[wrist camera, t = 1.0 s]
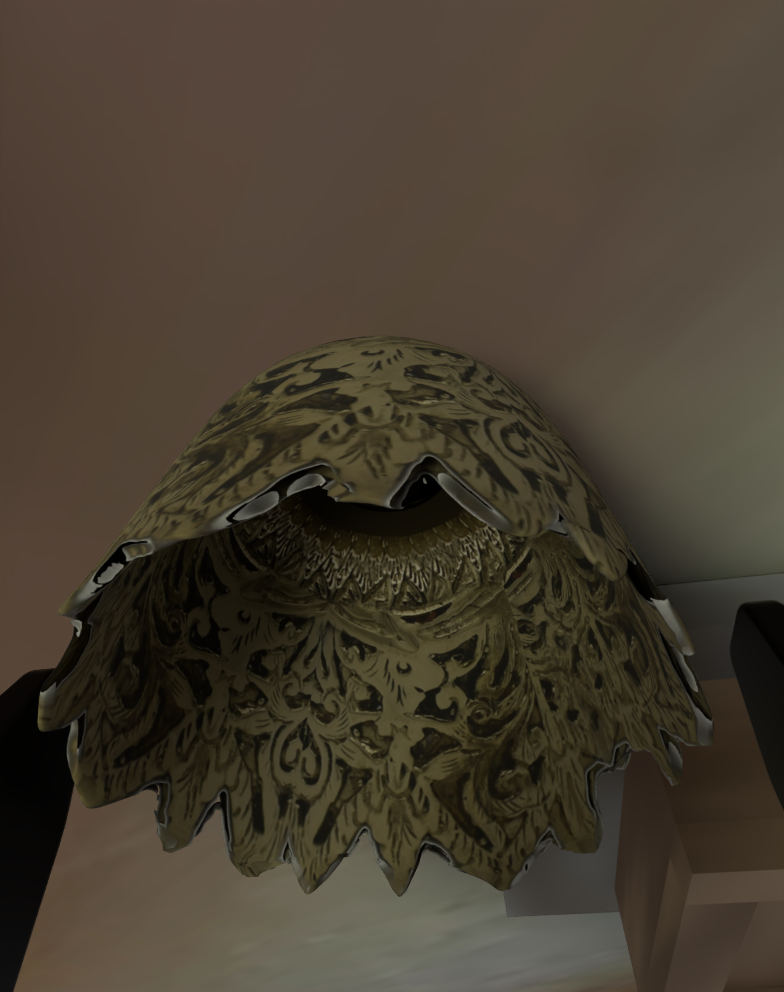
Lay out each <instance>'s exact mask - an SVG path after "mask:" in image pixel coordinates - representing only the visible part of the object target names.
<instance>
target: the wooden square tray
mask: <svg viewBox="0 0 784 992" xmlns="http://www.w3.org/2000/svg"><path fill="white" fill-rule="evenodd" d="M657 587H658V588H659V589H660V590H661V591H662V592H663V593H664V594H665V595H666V596H667V598H668V599H669V601H670V602H671V604H672V605H673V607H674V608H675V610H676V612H677V614H678V615H679V617H680V619H681V621H682V622H683V624H684V626H685V628H686V630H687V632H688V634H689V636H690V638H691V640H692V642H693V644H694V646H695V649H696V653H695V654H694V655H691V656H688V658H689V660H690V663H691V665H692V667H693V669H694V671H695V673H696V675H697V677H698V679H699V682H700V684H701V686H702V688H703V691H704V693H705V696H706V698H707V701H708V703H709V705H710V709H711V713H712V717H713V723H714V744H713V745H711V746H687V745H685V743H684V742H681V741H678V743H679V746H680V749H681V754H682V760H683V773H682V778H681V781H680V783H679V784H678V785H673V786H672V785H671V784H670V782H669V781H668V780H667V778H666V776H665V775H664V774H663V772H662V771H661V768H660V766H659V763H658V762H657V761H656V759H655V758H654V756H653V754H652V753H651V752H648V751H646V750H645V749H644V750H641V751H638V752H637V751H634V752H632V753H631V755H630V760H629V762H628V765H627V767H626V768H625V769H623V770H622V769H614V771H613V772H611V773H609V772H607V773H606V774H602V775H601V776H600V777H599V778H598V779H597V786H598V804H599V807H600V811H601V813H602V816H603V820H604V830H603V836H602V839H601V843H600V846H599V848H598V850H597V851H596V852H595V853H586V854H580V853H572V852H570V851H566V850H561V849H558V847H556V846H555V845H553V844H552V843H550V844H549V845H548V847H547V848H546V850H545V851H544V852H542V853H540V854H539V855H538V857H537V858H536V859H535V861H534V862H533V864H532V865H531V867H530V868H529V870H528V871H527V873H526V874H525V876H524V877H523V878H522V880H521V881H520V882H519V883H518V884H517V885H516V886H514V887H513V888H511V889H509V890H505V891H503V892H504V898H505V905H506V912H507V917H517V916H539V915H560V914H582V913H603V912H620V915H621V919H622V924H623V928H624V932H625V937H626V941H627V945H628V950H629V954H630V958H631V963H632V967H633V971H634V976H635V980H636V984H637V989H638V992H784V811H783V809H782V806H781V804H780V802H779V800H778V797H777V795H776V793H775V790H774V788H773V786H772V783H771V781H770V778H769V775H768V772H767V769H766V767H765V764H764V761H763V758H762V755H761V752H760V749H759V746H758V742H757V739H756V736H755V733H754V730H753V727H752V724H751V721H750V718H749V715H748V712H747V709H746V706H745V703H744V700H743V697H742V693H741V690H740V687H739V684H738V681H737V678H736V675H735V672H734V669H733V666H732V662H731V658H730V642H731V638H732V633H733V628H734V624H735V619H736V614H737V610H738V608H739V606H740V605H741V604H742V603H745V602H753V601H763V600H775V601H778V602H780V603H782V604H784V573H781V574H771V575H761V576H751V577H741V578H731V579H721V580H711V581H701V582H691V583H681V584H671V585H661V586H657ZM630 750H632V748H629V750H628V751H630ZM607 768H609V767H608V766H607V767H606V768H605V769H607ZM603 770H604V769H603ZM603 770H602V771H603ZM602 771H601V772H602ZM601 772H600V773H601ZM600 773H599V774H600ZM599 774H598V775H599ZM598 775H597V776H598Z"/></svg>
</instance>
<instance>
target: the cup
mask: <svg viewBox="0 0 784 992" xmlns="http://www.w3.org/2000/svg"><path fill="white" fill-rule="evenodd" d="M58 613H59V615H60V616H67V617H71V618H74V619H75V620H73V621H70V623H72V624H73V625H74V631H73V637H72V640H71V642H70V644H69V646H68V648H67V649H66V651H65V653H64V655H63V657H62V659H61V661H60V662H59V664H58V666H57V667H56V668H55V670H54V671H53V672H52V674H51V675H50V676H49V677H48V678H47V680H46V681H45V682H44V684H43V686H42V688H41V692H40V696H39V708H38V727H39V729H40V731H42V732H44V731H52V730H57V729H61V728H65V727H66V726H68V725H70V731H69V737H68V744H67V758H68V763H69V768H70V771H71V775H72V778H73V781H74V783H75V785H76V788H77V790H78V793H79V795H80V798H81V802H82V803H83V804H84V805H85V806H86V807H87V808H99V807H102V806H105V805H108V804H111V803H114V802H117V801H120V800H123V799H125V798H128V797H131V796H134V795H136V794H137V795H138V794H139V793H140V792H141V791H144V790H152V791H154V792H156V794H158V793H157V792H158V787H157V786H156V785H158V786H159V788H160V793H159V795H157V800H159V805H158V809H157V812H156V810H154V812H155V816H156V820H157V821H156V822H157V825H158V828H157V834H158V836H159V837H160V839H161V842H162V845H163V850H164V851H166V852H169V853H172V852H175V851H177V850H179V849H181V848H184V847H186V846H188V845H190V844H191V843H192V841H193V840H194V838H195V837H196V836H197V835H198V834H199V833H201V831H202V829H203V827H204V824H205V823H206V822H207V821H208V820H209V819H210V818H211V817H212V816H213V814H214V813H215V810H220V809H221V824H222V831H223V836H224V841H225V848H226V853H227V856H228V857H229V859H230V860H231V862H232V863H233V864H234V866H235V867H236V868H237V869H238V870H239V872H241V873H242V874H243V875H245V876H247V877H258V876H259V875H260V874H261V873H262V872H265V871H267V870H269V869H273V868H275V867H276V866H278V865H280V864H283V863H286V860H287V862H288V864H290V863H292V866H293V869H294V871H295V874H296V876H297V879H298V882H299V884H300V886H301V888H302V889H303V891H304V892H305V893H306V894H310V893H312V892H313V891H315V890H316V889H317V888H318V887H319V886H320V885H321V884H322V883H323V882H324V881H325V880H326V879H327V878H328V877H329V876H330V875H331V874H332V872H333V871H334V870H335V869H336V868H337V866H338V865H339V864H340V862H341V861H342V859H343V858H344V857H350V856H351V855H352V853H353V852H354V850H355V848H356V846H357V844H358V843H359V841H360V839H359V837H360V836H361V835H362V834H363V833H367V834H368V837H369V841H370V843H371V846H372V847H373V849H374V852H375V856H376V861H377V864H378V865H379V866H380V868H381V869H382V871H383V872H384V874H385V876H386V878H387V880H388V882H389V884H390V886H391V888H392V889H393V891H394V892H395V893H396V894H397V895H398V896H399V897H400V896H402V895H403V894H404V893H405V892H406V890H407V888H408V886H409V884H410V882H411V880H412V878H413V876H414V874H415V872H416V869H417V867H418V864H419V861H420V858H421V855H422V853H424V852H425V851H426V850H427V851H429V852H432V853H435V854H437V855H438V856H439V857H440V858H442V859H444V860H445V861H446V862H448V863H450V864H449V865H450V866H453V867H455V868H456V869H457V870H458V871H461V872H464V873H467V874H470V875H473V876H475V877H477V878H480V879H482V880H484V881H486V882H487V883H489V884H491V885H492V886H494V887H495V888H496V889H498V890H499V891H505V890H509V889H511V888H513V887H514V886H516V885H517V884H518V883H519V882H520V881H521V880H522V878H523V877H524V876H525V874H526V873H527V871H528V870H529V868H530V867H531V865H532V864H533V862H534V861H535V859H536V858H537V857H538V855H539V854H540V853H542V852H544V851H545V850H546V848H547V847H548V845H549V844H550V843H552V844H553V845H555V846H556V847H558V849H561V850H566V851H570V852H572V853H580V854H586V853H595V852H596V851H597V850H598V848H599V846H600V843H601V839H602V836H603V830H604V820H603V816H602V813H601V811H600V807H599V804H598V786H597V779H598V778H599V777H600V776H601V775H602V774H606V773H607V772H609V773H611V772H613V771H614V769H622V770H623V769H625V768H626V767H627V765H628V762H629V760H630V755H631V753H632V752H634V751H637V752H638V751H641V750H644V749H645V750H646V751H648V752H651V753H652V754H653V756H654V758H655V759H656V761H657V762H658V763H659V766H660V768H661V771H662V772H663V774H664V775H665V776H666V778H667V780H668V781H669V782H670V784H671V785H672V786H673V785H678V784H679V783H680V781H681V778H682V773H683V760H682V754H681V749H680V746H679V743H678V741H681V742H684V743H685V745H687V746H711V745H713V744H714V723H713V717H712V713H711V709H710V705H709V703H708V701H707V698H706V696H705V693H704V691H703V688H702V686H701V684H700V682H699V679H698V677H697V675H696V673H695V671H694V669H693V667H692V665H691V663H690V660H689V658H688V656H691V655H694V654H695V653H696V649H695V646H694V644H693V642H692V640H691V638H690V636H689V634H688V632H687V630H686V628H685V626H684V624H683V622H682V621H681V619H680V617H679V615H678V614H677V612H676V610H675V608H674V607H673V605H672V604H671V602H670V601H669V599H668V598H667V596H666V595H665V594H664V593H663V592H662V591H661V590H660V589H659V588H658V587H657V586H656V584H655V582H654V581H653V579H652V578H651V576H650V574H649V573H648V571H647V569H646V568H645V566H644V564H643V563H642V561H641V559H640V558H639V556H638V554H637V553H636V551H635V549H634V548H633V546H632V545H631V543H630V541H629V540H628V538H627V536H626V535H625V533H624V531H623V530H622V528H621V526H620V525H619V523H618V521H617V520H616V518H615V516H614V515H613V513H612V512H611V510H610V508H609V507H608V505H607V503H606V502H605V500H604V499H603V497H602V495H601V494H600V492H599V491H598V489H597V487H596V486H595V484H594V482H593V481H592V479H591V478H590V476H589V474H588V473H587V471H586V470H585V468H584V466H583V465H582V463H581V462H580V460H579V459H578V457H577V455H576V454H575V452H574V451H573V450H572V448H571V447H570V445H569V444H568V442H567V441H566V439H565V438H564V436H563V435H562V434H561V433H560V432H559V430H558V429H557V428H556V427H555V425H554V424H553V423H552V422H551V421H550V419H549V418H548V417H547V416H546V415H545V413H544V412H543V411H542V410H541V409H540V407H539V406H538V405H537V404H536V403H535V402H534V401H533V400H532V399H530V398H529V397H528V396H527V395H526V394H525V393H524V392H523V391H522V390H521V389H520V388H518V387H517V386H516V385H515V384H514V383H513V382H512V381H510V380H509V379H508V378H506V377H505V376H503V375H502V374H501V373H499V372H498V371H497V370H495V369H494V368H492V367H490V366H488V365H487V364H485V363H483V362H481V361H480V360H478V359H476V358H474V357H472V356H469V355H467V354H464V353H462V352H460V351H457V350H455V349H452V348H449V347H445V346H442V345H438V344H435V343H432V342H428V341H423V340H417V339H412V338H406V337H392V336H370V337H358V338H351V339H344V340H338V341H334V342H330V343H326V344H322V345H318V346H314V347H312V348H309V349H306V350H304V351H301V352H298V353H296V354H293V355H291V356H289V357H287V358H286V359H284V360H282V361H280V362H278V363H276V364H274V365H273V366H271V367H270V368H268V369H267V370H265V371H264V372H262V373H261V374H259V375H258V376H257V377H255V378H254V379H252V380H251V381H250V382H248V383H247V384H245V385H244V386H243V387H242V388H241V389H240V390H239V391H237V392H236V393H235V394H234V395H233V396H232V397H231V398H229V399H228V400H227V401H226V402H225V403H224V404H223V405H222V406H221V407H220V408H219V409H218V410H217V411H216V412H215V414H214V415H213V416H212V417H211V418H210V419H209V420H208V422H207V423H206V424H205V425H204V426H203V427H202V428H201V430H200V431H199V432H198V433H197V434H196V436H195V437H194V438H193V439H192V440H191V441H190V443H189V444H188V445H187V446H186V447H185V449H184V450H183V451H182V453H181V454H180V455H179V456H178V458H177V459H176V460H175V462H174V463H173V464H172V465H171V467H170V468H169V469H168V471H167V472H166V473H165V475H164V476H163V477H162V478H161V480H160V481H159V482H158V484H157V485H156V486H155V488H154V489H153V490H152V492H151V493H150V494H149V496H148V497H147V498H146V500H145V501H144V502H143V504H142V505H141V506H140V508H139V509H138V510H137V512H136V513H135V514H134V516H133V517H132V518H131V520H130V521H129V522H128V524H127V525H126V526H125V528H124V529H123V530H122V532H121V533H120V534H119V536H118V537H117V538H116V540H115V541H114V542H113V544H112V545H111V546H110V548H109V549H108V550H107V552H106V553H105V554H104V556H103V557H102V558H101V560H100V561H99V562H98V564H97V565H96V566H95V568H94V569H93V570H92V571H91V573H90V574H89V575H88V576H87V578H86V579H85V580H84V581H83V582H82V583H81V584H80V585H79V586H78V587H77V589H76V590H75V591H74V592H73V593H72V594H71V595H70V596H69V597H68V598H67V599H66V600H65V601H64V603H63V604H62V605H61V607H60V609H59V611H58ZM629 748H632V750H630V751H628V750H629ZM607 766H608V767H609V768H607V769H605V768H606V767H607ZM603 769H604V770H603ZM602 770H603V771H602ZM601 771H602V772H601ZM600 772H601V773H600ZM599 773H600V774H599ZM598 774H599V775H598ZM597 775H598V776H597ZM218 796H219V797H220V801H221V802H216V803H215V804H213V803H214V802H215V801H216V800H217V798H218ZM212 804H213V805H212ZM211 805H212V806H211ZM210 807H211V808H210ZM209 808H210V809H209ZM439 850H440V851H439ZM441 851H442V852H444V853H445V854H446V855H448V857H449V859H450V860H449V859H448V858H447V857H446V856H445V855H444V854H443V853H442V852H441Z"/></svg>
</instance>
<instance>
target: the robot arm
mask: <svg viewBox="0 0 784 992" xmlns="http://www.w3.org/2000/svg"><path fill="white" fill-rule="evenodd" d="M730 658H731V662H732V666H733V669H734V672H735V675H736V678H737V681H738V684H739V687H740V690H741V693H742V697H743V700H744V703H745V706H746V709H747V712H748V715H749V718H750V721H751V724H752V727H753V730H754V733H755V736H756V739H757V742H758V746H759V749H760V752H761V755H762V758H763V761H764V764H765V767H766V769H767V772H768V775H769V778H770V781H771V783H772V786H773V788H774V790H775V793H776V795H777V797H778V800H779V802H780V804H781V806H782V809H783V811H784V604H782V603H780V602H778V601H775V600H763V601H753V602H745V603H742V604H741V605H740V606H739V608H738V610H737V614H736V619H735V624H734V628H733V633H732V638H731V642H730ZM54 670H55V668H51V669H40V670H33V671H30V672H28V673H26V674H24V675H23V676H22V677H21V678H20V679H18V680H17V681H16V682H15V683H14V684H13V685H12V686H11V687H9V688H8V689H7V690H6V691H5V692H4V693H3V694H1V695H0V992H13V991H14V988H15V985H16V982H17V978H18V975H19V972H20V969H21V966H22V963H23V959H24V956H25V953H26V950H27V947H28V944H29V940H30V937H31V934H32V931H33V928H34V924H35V921H36V918H37V915H38V912H39V909H40V905H41V902H42V899H43V896H44V893H45V890H46V886H47V883H48V880H49V877H50V874H51V871H52V867H53V864H54V861H55V858H56V855H57V851H58V848H59V845H60V842H61V838H62V835H63V831H64V828H65V824H66V820H67V816H68V812H69V807H70V803H71V798H72V793H73V788H74V781H73V778H72V775H71V771H70V768H69V763H68V758H67V744H68V737H69V731H70V725H68V726H66V727H65V728H61V729H57V730H52V731H44V732H42V731H40V729H39V727H38V708H39V696H40V692H41V688H42V686H43V684H44V682H45V681H46V680H47V678H48V677H49V676H50V675H51V674H52V672H53V671H54Z"/></svg>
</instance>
